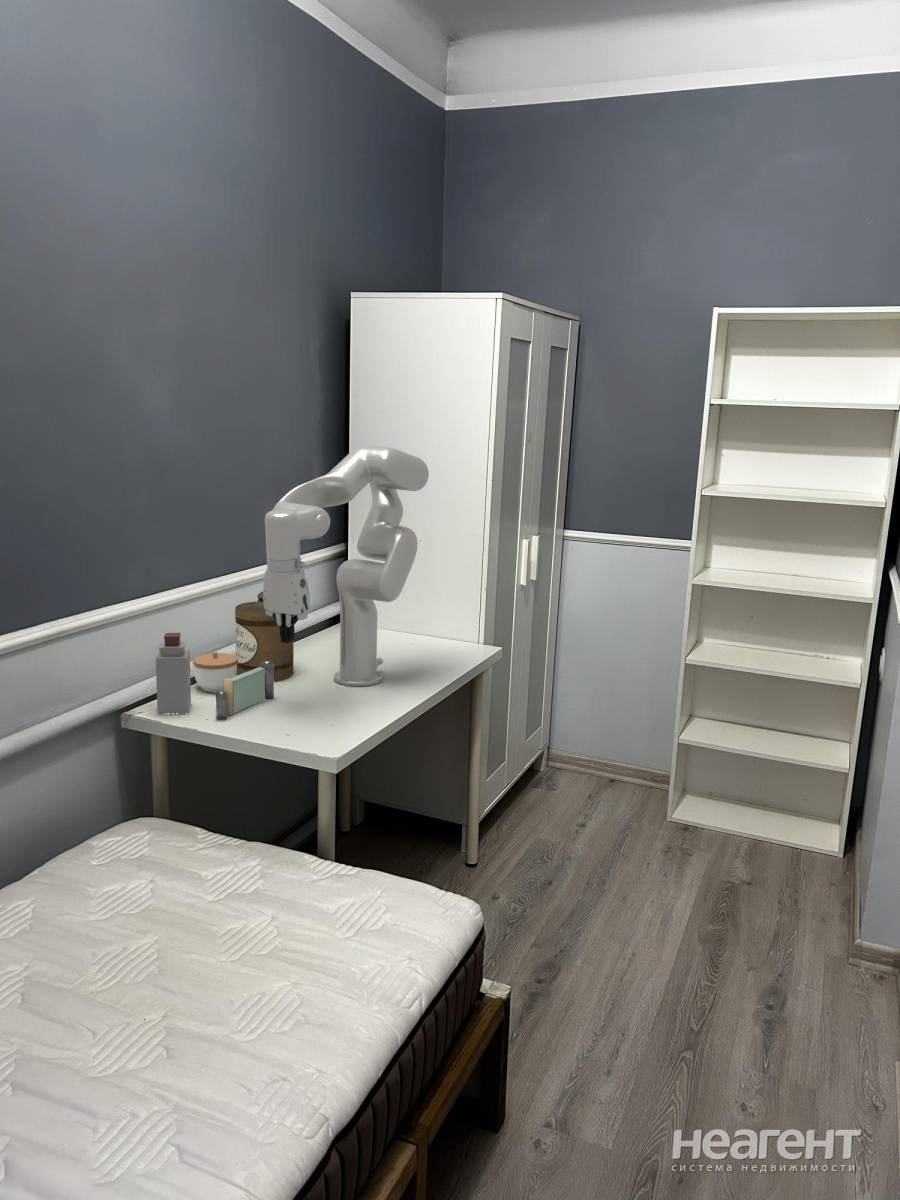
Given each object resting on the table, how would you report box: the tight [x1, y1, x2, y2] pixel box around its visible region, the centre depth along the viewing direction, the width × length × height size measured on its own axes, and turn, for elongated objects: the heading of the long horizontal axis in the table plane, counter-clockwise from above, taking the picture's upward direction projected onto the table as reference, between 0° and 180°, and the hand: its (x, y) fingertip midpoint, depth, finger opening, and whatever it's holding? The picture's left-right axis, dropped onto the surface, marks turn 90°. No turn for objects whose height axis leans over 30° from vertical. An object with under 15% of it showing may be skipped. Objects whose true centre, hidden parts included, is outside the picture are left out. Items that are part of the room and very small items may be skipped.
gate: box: [223, 667, 266, 716], centre depth 219 cm, size 14×2×8 cm, turn 153°
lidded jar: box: [192, 651, 238, 693], centre depth 232 cm, size 11×11×9 cm
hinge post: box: [261, 660, 275, 701], centre depth 226 cm, size 3×3×10 cm
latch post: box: [215, 691, 228, 721], centre depth 213 cm, size 7×4×7 cm, turn 154°
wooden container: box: [234, 591, 295, 682], centre depth 243 cm, size 15×15×22 cm
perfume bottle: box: [155, 632, 192, 715], centre depth 215 cm, size 7×7×18 cm
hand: (287, 641), depth 217 cm, fingers closed
